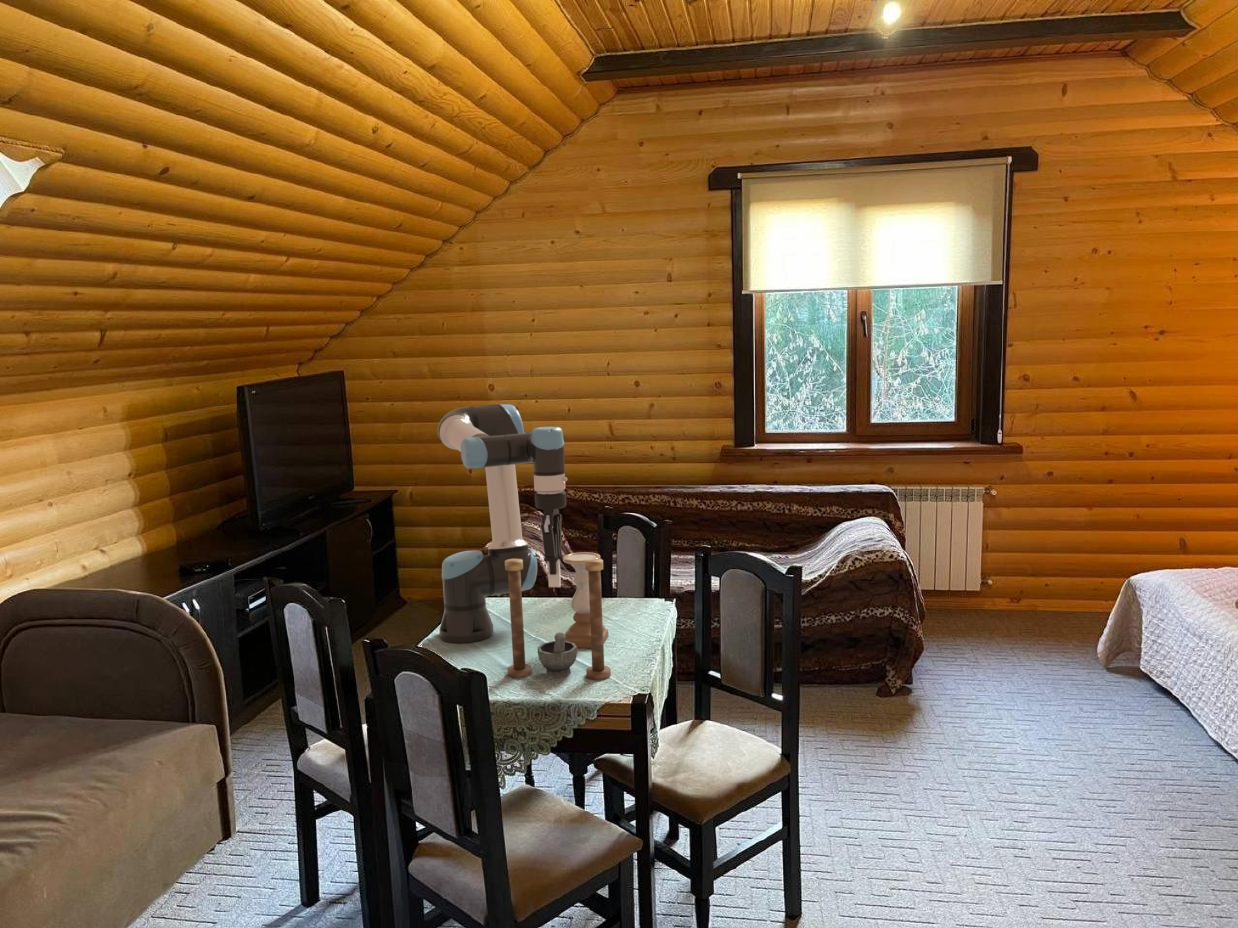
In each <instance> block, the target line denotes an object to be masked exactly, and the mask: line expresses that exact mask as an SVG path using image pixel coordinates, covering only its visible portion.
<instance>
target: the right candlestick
mask: <svg viewBox="0 0 1238 928" xmlns="http://www.w3.org/2000/svg"><path fill="white" fill-rule="evenodd" d="M585 570H587V571H588V579H589V603H590V627H591V648H590V649H591V650H590V651H591V666H588V667H587V668H586V670H585V675H586V678H587V679H589V680H594V681H602V680H606V679H609V678H610V677H611V673H612V672H611V671H612V670H611V667H609V666H608V665H605V653H604V652H605V651H604V649H605V648H604V644H603V625H604V623H603V622H604V621H603V602H602V601H603V600H602V599H603V598H602V596H603V595H602V576H601V575H602V573H601V571H602V570H604V560H603V559H602V558H600V559H588V560H585Z"/></svg>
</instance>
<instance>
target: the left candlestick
mask: <svg viewBox="0 0 1238 928" xmlns="http://www.w3.org/2000/svg"><path fill="white" fill-rule="evenodd" d="M522 569H523V560H522V559H508V560H506V561H505V570H507V571H508V578H509V593H508V594H509V609H510V611H509V612H510V613H509V614H510V630H511V646H512V647H511V648H512V649H511V651H512V663H513V664H512V665H509V666H508V667H507V668H506V669H507V676H508V677H509V678H512V679H524V678H527V677H530V676H532V674H533V671H532V670H533V669H532V665H531V664H528V663H527V664H526V654H525V653H526V651H525V634H524V631H525V630H524V614H523V613H524V612H523V596H522V595H523V594H522V592H523V591H521V572H520V570H522Z"/></svg>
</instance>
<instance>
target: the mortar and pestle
mask: <svg viewBox="0 0 1238 928" xmlns="http://www.w3.org/2000/svg"><path fill="white" fill-rule="evenodd" d="M565 639H566V635H565V633H564V632H557V633H555V635H554V640H552V641H551V640H550V641H548V642H543V643H542V644H540V645H539V646H537V655H538V660H539V661H540V664H541V665H542V667H543V668H544V669H545V675H546V677H547V678H550V677H551V679H563V678H567V677H569V676H570V675H571V673H572V672H571V671H572V670H571V667H572V666H573V665H574V664H575V662H576V659H577V656H578V648H577V646H576V645H575V643H572V642H568V641H565Z"/></svg>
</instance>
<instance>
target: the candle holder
mask: <svg viewBox="0 0 1238 928" xmlns="http://www.w3.org/2000/svg"><path fill="white" fill-rule="evenodd" d="M588 559H601V555H600V554H599V553H596V552H592V551H591V552H587V551H583V552H582V551H581V552H574V553H573V552H572V553H568V554H566V555H564V556H563V559H562V561H563V562H564V563H565V564H568V565H572V567H573V569H574V571H575V576H574V577H573V578H572V580H573V581H572V582H574V584H575V586H576V591H575V593H574V595H573V597H572V598H571V600H570V609H571V610H572V611H573V612H575V613H574V614H573V616H572V617H573V618H572V619H573V621H574V622H575V623H572V624H571V625H570V626H569V627H568V629H567V630H566V631H565V633H564V634H565V635H566V639H565V641H568V642H572V643H575V645H576V646H577V649H591V627H590V603H589V579H588V571H587V570H585V560H588ZM608 637H609V630H608V628H606V626H605V624H603V645H604V644H605V642H606V641H607V639H608Z"/></svg>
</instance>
